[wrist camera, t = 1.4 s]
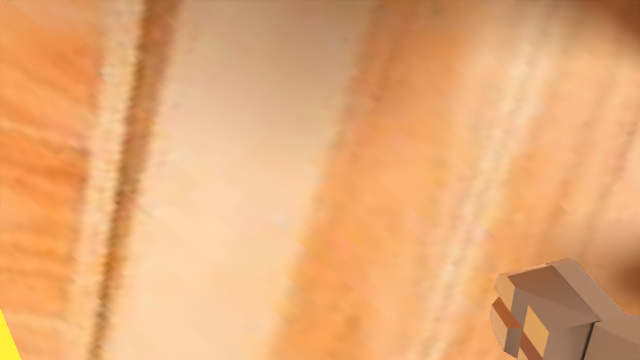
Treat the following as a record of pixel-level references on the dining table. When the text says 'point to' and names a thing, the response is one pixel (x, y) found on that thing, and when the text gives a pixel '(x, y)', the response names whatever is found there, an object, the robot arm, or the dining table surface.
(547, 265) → the robot arm
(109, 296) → the dining table surface
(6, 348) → the yellow faceted rounded part
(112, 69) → the dining table surface
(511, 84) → the dining table surface
